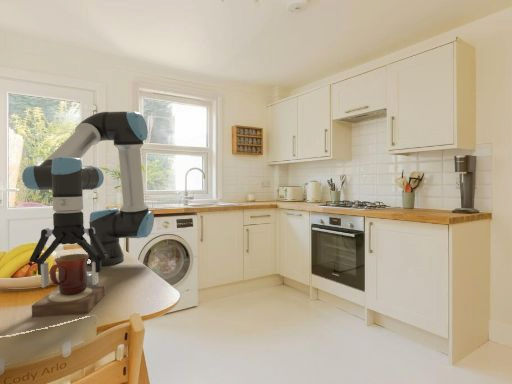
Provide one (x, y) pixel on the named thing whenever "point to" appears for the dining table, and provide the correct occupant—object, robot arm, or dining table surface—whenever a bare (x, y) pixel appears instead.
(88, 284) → the grey rounded block
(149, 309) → the dining table surface
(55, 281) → the mug
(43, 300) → the base slab
